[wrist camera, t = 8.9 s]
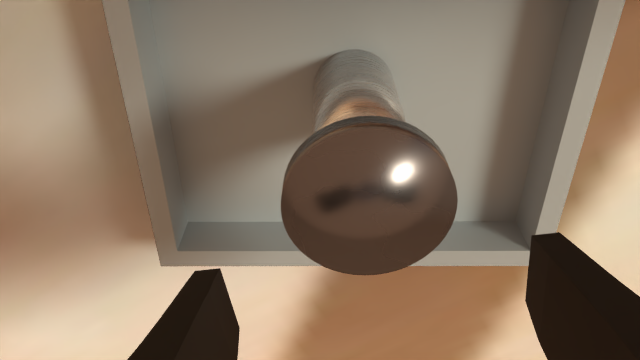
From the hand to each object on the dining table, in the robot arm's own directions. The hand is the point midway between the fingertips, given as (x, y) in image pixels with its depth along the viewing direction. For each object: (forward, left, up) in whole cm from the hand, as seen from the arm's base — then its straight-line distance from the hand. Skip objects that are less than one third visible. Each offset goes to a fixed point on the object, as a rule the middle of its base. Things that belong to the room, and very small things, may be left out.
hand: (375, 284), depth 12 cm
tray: (0, 0, -10) cm, 10 cm away
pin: (0, -1, -9) cm, 9 cm away
